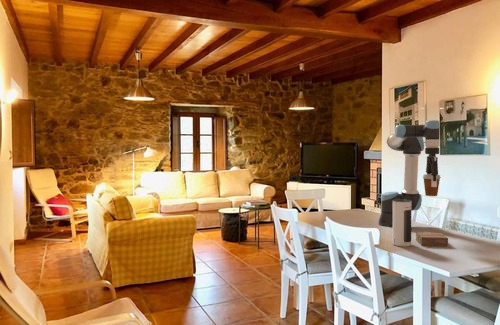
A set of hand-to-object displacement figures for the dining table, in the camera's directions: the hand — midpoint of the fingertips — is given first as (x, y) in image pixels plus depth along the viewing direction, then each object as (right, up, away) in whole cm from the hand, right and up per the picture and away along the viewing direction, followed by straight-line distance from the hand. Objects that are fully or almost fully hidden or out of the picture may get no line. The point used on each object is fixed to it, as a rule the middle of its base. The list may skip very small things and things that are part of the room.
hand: (431, 185), depth 237 cm
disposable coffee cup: (0, -6, 0) cm, 6 cm away
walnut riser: (+1, -34, +2) cm, 34 cm away
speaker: (-18, -34, 0) cm, 38 cm away
